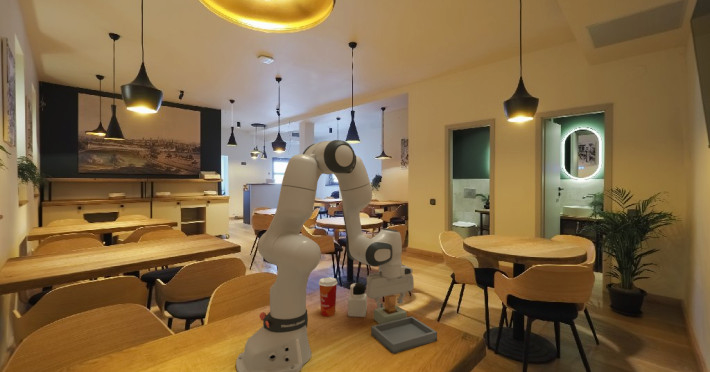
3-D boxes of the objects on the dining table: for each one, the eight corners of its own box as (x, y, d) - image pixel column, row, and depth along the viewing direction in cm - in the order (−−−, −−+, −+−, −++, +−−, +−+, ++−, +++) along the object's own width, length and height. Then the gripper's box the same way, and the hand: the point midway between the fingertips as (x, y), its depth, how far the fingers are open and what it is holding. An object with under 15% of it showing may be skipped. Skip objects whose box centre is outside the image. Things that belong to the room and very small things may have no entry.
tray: (393, 353, 102) (393, 344, 102) (371, 334, 115) (371, 326, 115) (437, 340, 110) (437, 332, 110) (411, 323, 123) (412, 316, 123)
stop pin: (388, 323, 123) (389, 297, 123) (384, 320, 126) (384, 294, 126) (395, 321, 125) (395, 296, 124) (391, 318, 127) (391, 293, 127)
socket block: (384, 327, 120) (384, 317, 119) (373, 319, 127) (373, 309, 127) (406, 322, 124) (406, 312, 124) (394, 314, 131) (394, 304, 131)
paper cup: (316, 311, 134) (316, 278, 133) (333, 308, 137) (333, 275, 137) (322, 319, 127) (322, 284, 126) (340, 315, 130) (340, 281, 129)
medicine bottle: (366, 309, 136) (366, 281, 135) (365, 317, 129) (365, 287, 128) (349, 309, 136) (349, 281, 136) (347, 316, 129) (347, 287, 129)
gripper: (371, 276, 117) (371, 313, 118) (416, 268, 127) (415, 303, 127) (362, 271, 123) (362, 307, 123) (406, 264, 132) (406, 298, 133)
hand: (390, 305), depth 125 cm, fingers open, 8 cm apart
